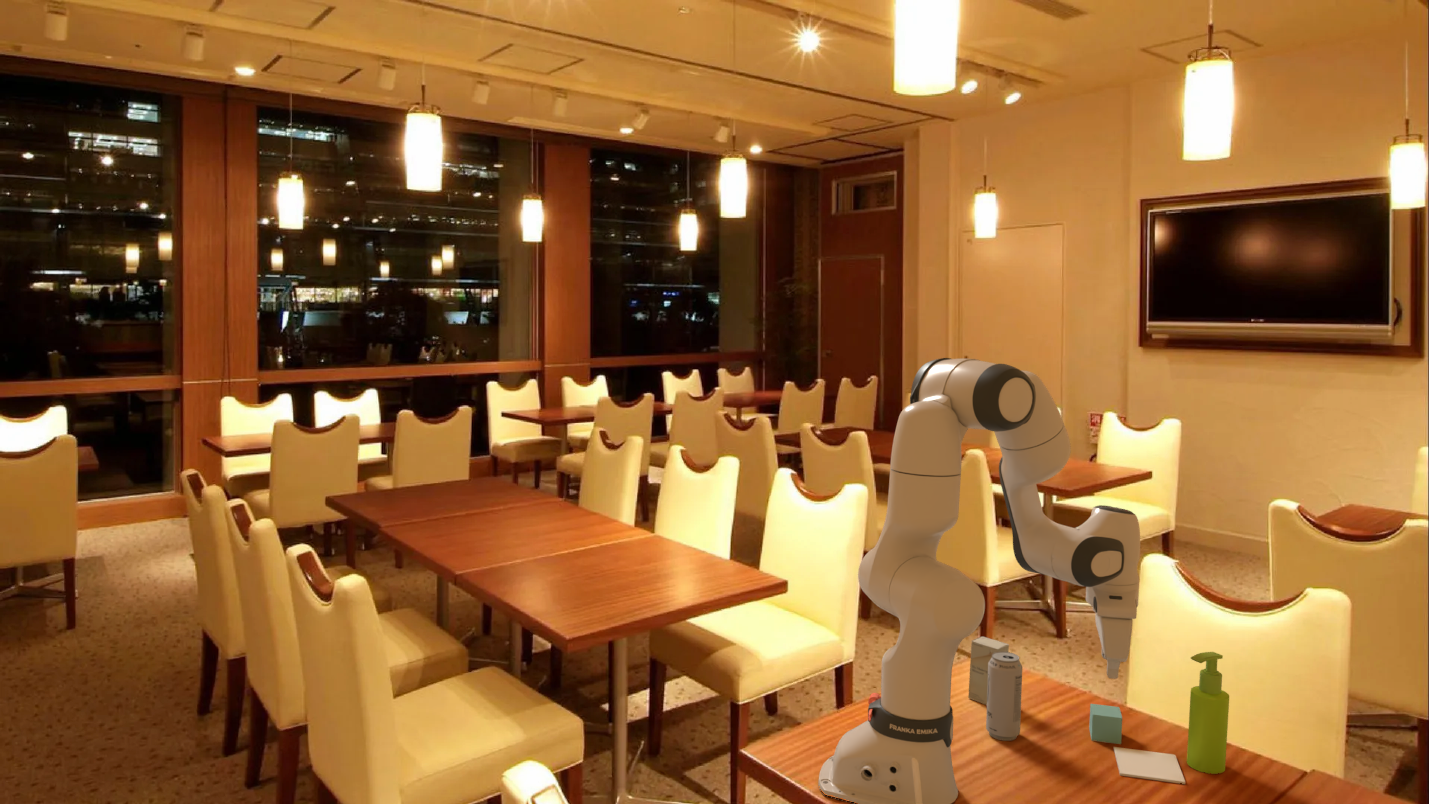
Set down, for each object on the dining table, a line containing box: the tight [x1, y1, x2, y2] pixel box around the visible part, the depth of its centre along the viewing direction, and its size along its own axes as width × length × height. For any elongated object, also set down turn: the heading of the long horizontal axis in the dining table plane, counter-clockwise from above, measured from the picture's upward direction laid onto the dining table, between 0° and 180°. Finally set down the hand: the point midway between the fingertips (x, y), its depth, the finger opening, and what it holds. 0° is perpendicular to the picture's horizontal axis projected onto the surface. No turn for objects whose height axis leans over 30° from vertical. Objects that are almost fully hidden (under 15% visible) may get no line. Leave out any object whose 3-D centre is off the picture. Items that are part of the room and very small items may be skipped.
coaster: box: [1113, 746, 1186, 785], centre depth 163 cm, size 10×10×1 cm
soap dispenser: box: [1186, 651, 1230, 775], centre depth 162 cm, size 6×7×20 cm
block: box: [1088, 703, 1123, 745], centre depth 174 cm, size 5×5×5 cm
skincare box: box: [967, 635, 1010, 706], centre depth 189 cm, size 6×4×12 cm
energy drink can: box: [985, 651, 1023, 742], centre depth 174 cm, size 6×6×15 cm
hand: (1109, 667), depth 173 cm, fingers open, 8 cm apart
